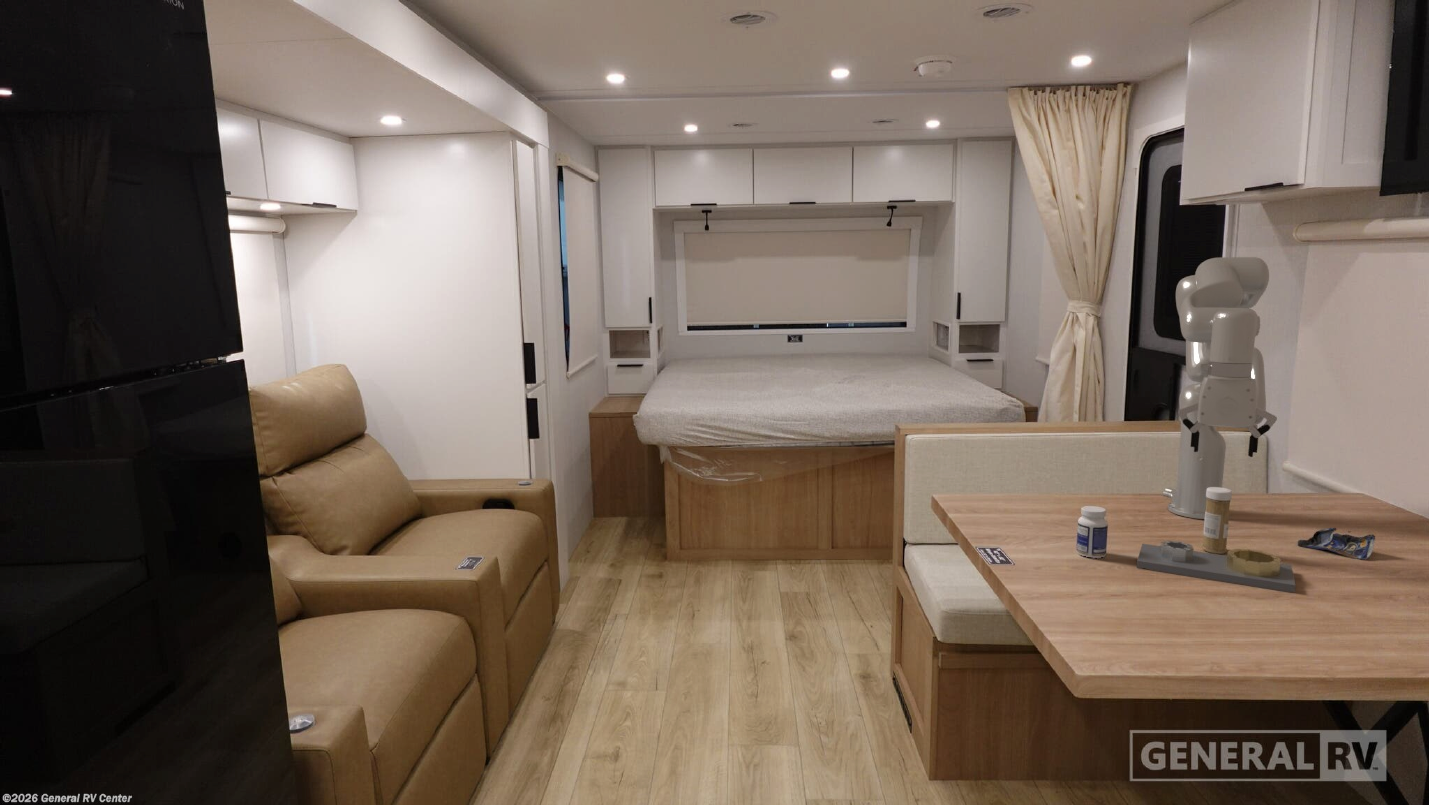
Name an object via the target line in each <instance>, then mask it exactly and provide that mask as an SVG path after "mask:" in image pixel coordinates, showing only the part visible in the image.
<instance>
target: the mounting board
mask: <svg viewBox="0 0 1429 805" xmlns="http://www.w3.org/2000/svg"><path fill="white" fill-rule="evenodd" d="M1160 546H1161V545H1156V544H1155V545H1154V544H1149V543H1141V547H1140V550H1139V554H1138V558H1137V561H1136V568H1137V569H1141V568H1146V569H1145V570H1147V569H1149V570H1148V571H1153V572H1154V571H1155V572H1159V571H1161V573H1167V574H1173V575H1174V574H1175V575H1178V576H1184V577H1185V576H1186V577H1191V578H1198V579H1205V580H1209V581H1210V580H1212V581H1216V582H1223V583H1230V584H1235V585H1241V586H1248V587H1256V588H1261V589H1266V590H1267V589H1268V590H1272V591H1273V590H1274V591H1278V592H1279V591H1281V592H1286V593H1292V594H1295V592H1296V581H1295V575H1294V572H1293V567H1292V564H1286V563H1280V569H1279V575H1277V576H1273V577H1257V576H1251V575H1245V574H1242V573H1239V572H1236V571H1233V570H1231V569H1230V568H1228V567H1227V566H1226V565H1227V555H1226V554H1225V555H1224V554H1214V553H1210V552H1205V551H1204V552H1203V551H1197V550H1193V561H1189V562H1176V561H1170V560H1167V559H1164V558H1162V557H1161V555H1160Z"/></svg>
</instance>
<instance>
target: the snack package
mask: <svg viewBox="0 0 1429 805" xmlns="http://www.w3.org/2000/svg"><path fill="white" fill-rule="evenodd" d="M1336 531H1337V528H1336V527H1329V528H1324V529H1320V530H1316V531H1315V532H1314V533H1313V535H1312V537H1309V538H1308V539H1299V540H1298V541H1297V546H1298V547H1306V548H1309V549H1315V550H1323V551H1328V552H1333V553H1336V554H1338V555H1341V556H1342V555H1343V556H1344V557H1347V558H1351V559H1353V558H1355V559H1357V560H1363V561H1367V559H1369V557H1370V556H1371V554H1372V553H1373V550H1374V544H1375V542H1376V536H1375V534H1368V535H1363V536H1353V535H1350V534H1347V533H1351V531H1349V530H1348V531H1347V533H1346V534H1341V533H1337V532H1336ZM1334 532H1335V533H1334ZM1339 551H1340V552H1339ZM1341 552H1343V553H1345V554H1348V555H1345V554H1342V553H1341ZM1349 555H1351V556H1349Z"/></svg>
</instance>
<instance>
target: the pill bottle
mask: <svg viewBox="0 0 1429 805" xmlns="http://www.w3.org/2000/svg"><path fill="white" fill-rule="evenodd" d="M1080 514H1081V516H1080V517H1079V518H1078V520H1077V531H1076V532H1077V533H1076V550H1075V551H1076V553H1077V555H1079V556H1080V555H1083V556H1086V557H1085V558H1087V557H1093V558H1092V559H1095V558H1097V559H1102V558H1101V557H1103V558H1104V557H1106V556H1107V547H1108V546H1107V545H1108V526H1109V523H1108V521H1107V520H1106V519H1105V517H1106V516H1107V510H1106V508H1105V507H1100V506H1096V505H1095V506H1094V505H1093V506H1092V505H1086V506H1082V507H1081V509H1080ZM1083 556H1082V557H1083Z"/></svg>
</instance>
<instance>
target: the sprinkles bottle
mask: <svg viewBox="0 0 1429 805" xmlns="http://www.w3.org/2000/svg"><path fill="white" fill-rule="evenodd" d="M1232 495H1233V493H1232V490H1231V489H1229V488H1226V487H1222V488H1221V487H1209V488H1207V490H1206V497H1207V501H1206V510H1205V519H1203V520H1204V522H1203V533H1202V534H1203V541H1202V546H1201V549H1202V550H1203V551H1204V552H1205V553H1211V554H1218V555H1224V554H1226V553H1227V552H1228V550H1227V544H1228V543H1227V542H1228V535H1229V522H1230V520H1229V519H1230V505H1231V504H1230V503H1231V500H1232V497H1233V496H1232Z"/></svg>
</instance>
